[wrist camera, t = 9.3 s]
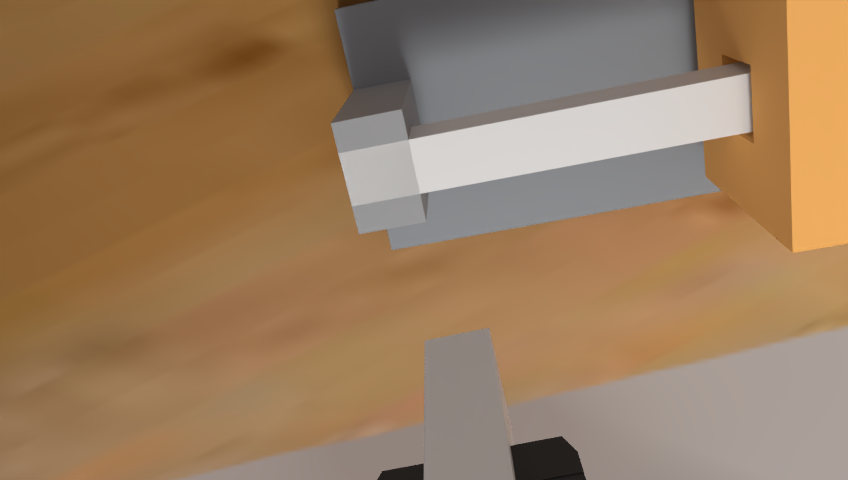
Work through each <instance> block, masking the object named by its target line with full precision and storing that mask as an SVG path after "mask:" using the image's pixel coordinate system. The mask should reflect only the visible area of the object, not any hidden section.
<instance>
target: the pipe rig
mask: <svg viewBox="0 0 848 480" xmlns="http://www.w3.org/2000/svg"><path fill="white" fill-rule="evenodd" d="M334 11H335V15H336V19H337V23H338V27H339V32H340V36H341V40H342V44H343V48H344V52H345V57H346V61H347V65H348V69H349V73H350V77H351V82H352V86H353V92H352V93H351V95H350V96H349V98H348V99H347V101H346V102H345V103H344V105H343V106H342V108H341V109H340V111H339V112H338V114H337V115H336V117H335V118H334V119H333V121H332V122H331V126H332V130H333V134H334V138H335V142H336V146H337V150H338V153H339V157H340V161H341V165H342V169H343V173H344V177H345V181H346V185H347V189H348V193H349V197H350V200H351V204H352V208H353V212H354V216H355V220H356V224H357V228H358V232H359V234H363V233H368V232H374V231H379V230H385V229H387V232H388V236H389V240H390V244H391V248H392V250H395V249H401V248H406V247H412V246H417V245H423V244H429V243H434V242H440V241H445V240H451V239H456V238H462V237H468V236H473V235H479V234H484V233H490V232H495V231H501V230H507V229H512V228H518V227H523V226H529V225H534V224H540V223H546V222H551V221H557V220H562V219H568V218H573V217H579V216H585V215H590V214H596V213H601V212H607V211H612V210H618V209H624V208H629V207H635V206H640V205H646V204H651V203H657V202H663V201H668V200H674V199H679V198H685V197H690V196H696V195H702V194H707V193H713V192H718V191H722V190H720V189H719V188H718V187H717V186H716V185H715V184H714V183H712V182H711V181H710V180H709V179H708V178H707V177H706V174H705V160H704V145H703V141H705V140H711V139H716V138H722V137H727V136H732V135H738V134H743V133H748V132H753V113H752V89H751V66H750V65H749V64H746V63H744V62H738V63H733V64H727V65H722V66H717V67H712V68H707V69H702V70H698V57H697V42H696V28H695V13H694V0H373V1H368V2H364V3H359V4H355V5H350V6H345V7H341V8H338V9H336V10H334Z"/></svg>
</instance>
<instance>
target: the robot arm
mask: <svg viewBox="0 0 848 480" xmlns="http://www.w3.org/2000/svg"><path fill="white" fill-rule="evenodd" d="M378 480H586V478H585V476H584V472H583V468H582V465H581V462H580V458H579V455H578V452H577V451H576V450H575V449H574V448H573V447H572V446H571V445H570V444H569V443H568V442H567V441H566V440H565V439H564V438H563V437H562V436H561V437H555V438H550V439H544V440H539V441H534V442H528V443H523V444H517V445H514V440H513V434H512V428H511V423H510V419H509V415H508V410H507V405H506V401H505V396H504V392H503V387H502V383H501V379H500V374H499V370H498V365H497V361H496V356H495V352H494V347H493V343H492V338H491V334H490V329H489V328H486V329H481V330H476V331H471V332H466V333H461V334H456V335H451V336H446V337H441V338H436V339H431V340H426V341H425V376H424V464H419V465H414V466H409V467H403V468H397V469H392V470H387V471H382V473H381V474H380V476H379V478H378Z"/></svg>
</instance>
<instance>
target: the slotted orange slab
mask: <svg viewBox="0 0 848 480" xmlns="http://www.w3.org/2000/svg"><path fill="white" fill-rule="evenodd" d="M694 13H695V28H696V42H697V57H698V70H702V69H707V68H712V67H717V66H722V65H727V64H733V63H738V62H744V63H746V64H749V65H750V66H751V89H752V113H753V132H748V133H743V134H738V135H732V136H727V137H722V138H716V139H711V140H705V141H703V145H704V160H705V174H706V177H707V178H708V179H709V180H710V181H711V182H712V183H714V184H715V185H716V186H717V187H718V188H719V189H720V190H722V191H723V192H724V193H725V194H726V195H727V196H728V197H730V198H731V199H732V200H733V201H734V202H735V203H736V204H738V205H739V206H740V207H741V208H742V209H743V210H744V211H746V212H747V213H748V214H749V215H750V216H751V217H752V218H754V219H755V220H756V221H757V222H758V223H759V224H760V225H762V226H763V227H764V228H765V229H766V230H767V231H768V232H770V233H771V234H772V235H773V236H774V237H775V238H776V239H777V240H779V241H780V242H781V243H782V244H783V245H784V246H785V247H787V248H788V249H789V250H790V251H791V252H792V253H794V252H800V251H806V250H812V249H818V248H824V247H830V246H836V245H842V244H848V0H694Z"/></svg>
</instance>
